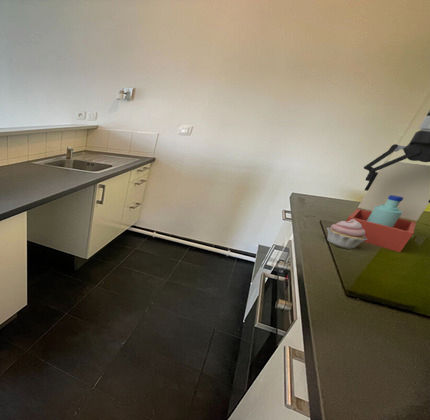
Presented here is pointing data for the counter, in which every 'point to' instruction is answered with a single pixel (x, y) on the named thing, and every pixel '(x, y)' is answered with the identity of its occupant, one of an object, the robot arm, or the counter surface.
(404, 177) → the lid
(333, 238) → the cupcake
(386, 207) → the bottle
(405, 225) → the box
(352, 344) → the counter surface
